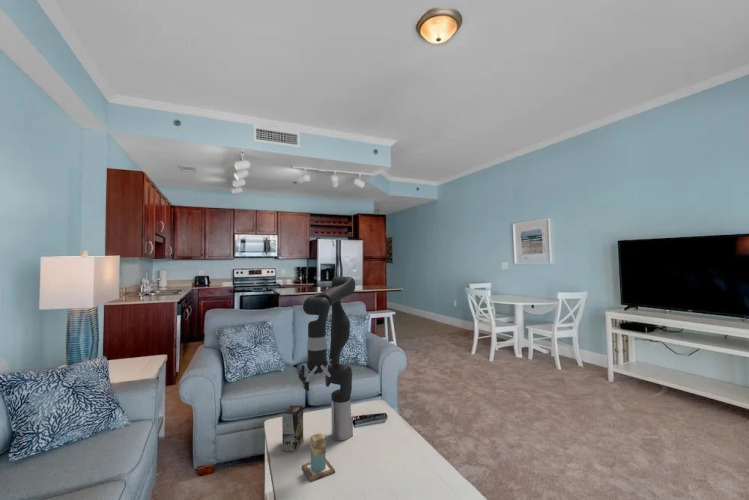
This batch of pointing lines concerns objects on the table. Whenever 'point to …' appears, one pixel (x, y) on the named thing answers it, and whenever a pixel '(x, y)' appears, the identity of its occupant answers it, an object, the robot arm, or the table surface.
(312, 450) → the ochre block
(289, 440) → the coffee box
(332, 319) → the robot arm
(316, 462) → the teal block
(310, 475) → the brown framed white board
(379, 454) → the table surface
